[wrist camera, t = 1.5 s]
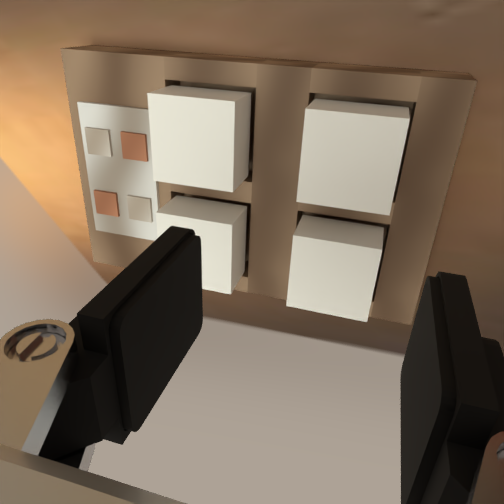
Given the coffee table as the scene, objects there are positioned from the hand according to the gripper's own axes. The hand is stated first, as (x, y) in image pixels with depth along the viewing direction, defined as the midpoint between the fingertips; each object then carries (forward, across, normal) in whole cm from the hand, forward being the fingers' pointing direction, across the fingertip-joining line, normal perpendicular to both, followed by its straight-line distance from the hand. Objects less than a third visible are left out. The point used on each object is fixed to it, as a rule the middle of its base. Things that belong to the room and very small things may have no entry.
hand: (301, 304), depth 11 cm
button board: (+17, +6, +3) cm, 19 cm away
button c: (+15, +8, 0) cm, 17 cm away
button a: (+15, 0, 0) cm, 15 cm away
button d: (+15, +8, +6) cm, 18 cm away
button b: (+15, 0, +6) cm, 16 cm away
